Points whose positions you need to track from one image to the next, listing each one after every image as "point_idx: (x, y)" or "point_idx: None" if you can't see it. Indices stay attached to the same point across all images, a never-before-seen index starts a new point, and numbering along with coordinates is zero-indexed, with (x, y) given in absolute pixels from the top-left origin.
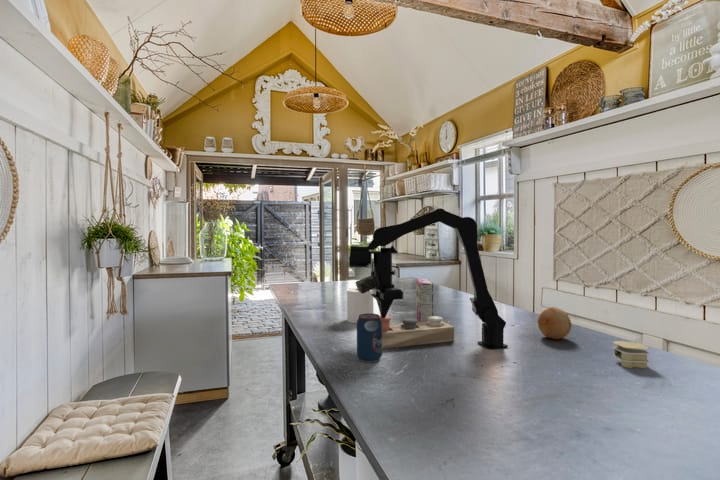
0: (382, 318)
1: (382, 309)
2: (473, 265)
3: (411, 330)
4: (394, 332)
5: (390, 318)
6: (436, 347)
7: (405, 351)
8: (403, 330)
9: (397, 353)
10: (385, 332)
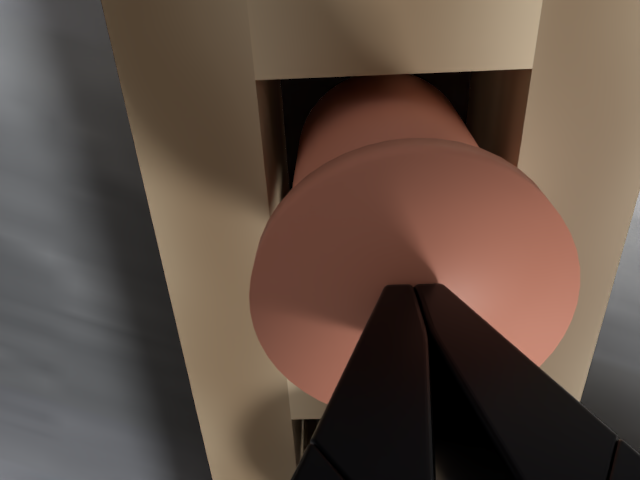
0: (325, 271)
1: (322, 434)
2: None
3: (218, 446)
4: (166, 276)
5: (316, 392)
6: (151, 453)
7: (72, 240)
8: (236, 385)
9: (14, 155)
10: (185, 170)
